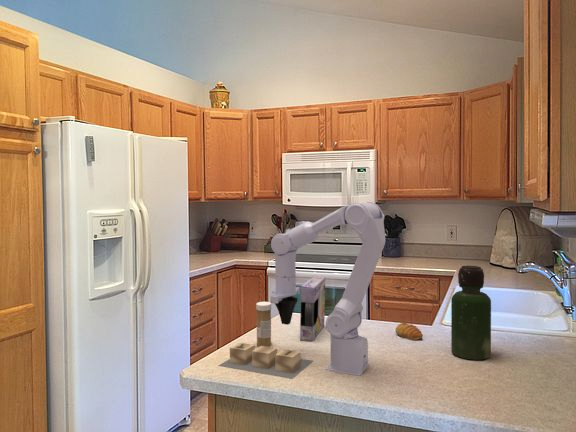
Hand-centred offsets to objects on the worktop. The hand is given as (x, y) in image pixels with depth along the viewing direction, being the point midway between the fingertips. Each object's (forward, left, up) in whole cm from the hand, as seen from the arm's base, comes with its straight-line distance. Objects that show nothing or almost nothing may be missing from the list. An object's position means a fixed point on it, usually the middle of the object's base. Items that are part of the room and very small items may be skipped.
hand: (286, 323), depth 131 cm
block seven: (+9, +9, -9) cm, 16 cm away
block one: (-5, +9, -9) cm, 14 cm away
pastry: (-28, -34, -10) cm, 45 cm away
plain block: (+2, +9, -9) cm, 13 cm away
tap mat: (+2, +8, -9) cm, 13 cm away
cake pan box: (+2, -24, -10) cm, 26 cm away
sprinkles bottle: (+10, -5, -10) cm, 15 cm away
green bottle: (-47, -23, -10) cm, 53 cm away
